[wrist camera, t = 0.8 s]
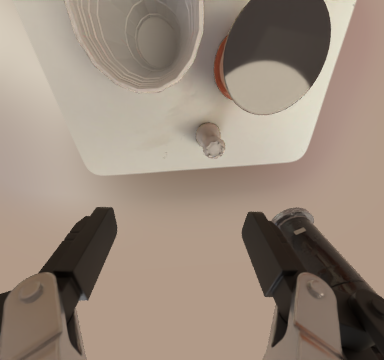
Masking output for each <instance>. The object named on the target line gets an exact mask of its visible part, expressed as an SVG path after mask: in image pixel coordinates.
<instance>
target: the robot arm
mask: <svg viewBox="0 0 384 360" xmlns="http://www.w3.org/2000/svg"><path fill="white" fill-rule="evenodd" d="M116 234H117V224H116V219H115V214H114V210H113V208H112V207H97V208H96V209H95V210H94V212H93V213H92V214H91V216H85V217H84V218H83V219H81V220H80V221H79V222H77V223H76V224H75V226H74V227H73V228H72V230H71V231H70V233H69V234H68V235H67V236H66V238H65V240H64V241H62V243H61V244H60V245H59V247H58V248H57V250H56V251H55V252H54V253H53V255H52V256H51V257H50V259H49V260H48V261H47V263H46V264H45V265H44V266H43V268H42V269H41V270H40V272H39V273H38V274H35V275H33V276H30V277H29V278H27V279H25V280H24V281H22V282H21V283H19V284H18V285H17V286H16V287H15V288H14V289H13V290H12V291H8V292H5V293H2V294H0V360H87V359H86V355H85V351H84V346H83V341H82V336H81V331H80V326H79V321H78V315H77V311H76V308H75V307H76V305H77V303H78V301H79V300H88V299H89V297H90V295H91V292H92V290H93V288H94V285H95V283H96V281H97V279H98V276H99V274H100V272H101V269H102V267H103V265H104V263H105V260H106V258H107V256H108V253H109V251H110V249H111V247H112V244H113V242H114V239H115V237H116ZM242 238H243V241H244V243H245V246H246V249H247V251H248V254H249V257H250V259H251V262H252V265H253V267H254V270H255V272H256V275H257V278H258V280H259V283H260V286H261V288H262V291H263V293H264V296H265V297H273V298H274V300H275V302H276V306H275V311H274V316H273V322H272V326H271V331H270V337H269V342H268V347H267V350H266V353H265V355H264V358H263V360H384V299H383V298H382V297H380V296H379V295H377V293H376V292H375V291H374V290H373V289H372V288H371V287H370V286H369V285H368V284H367V282H366V281H365V280H364V279H363V278H362V277H361V276H360V275H359V274H358V273H357V271H356V270H355V269H354V268H353V267H352V266H351V265H350V264H349V263H348V262H347V261H346V260H345V259H344V257H343V256H342V255H341V254H340V253H339V252H338V251H337V250H336V249H335V248H334V247H333V245H332V244H331V243H330V242H329V241H328V240H327V239H326V238H325V237H324V236H323V235H322V233H321V232H320V231H319V230H318V229H317V228H316V227H315V226H314V225H313V224H312V223H311V221H310V220H309V219H308V218H307V217H306V216H303V215H294V216H290V217H288V218H286V219H284V220H283V221H282V222H280V223H279V225H278V226H276V225H275V224H274V223H273V222H271V221H268V220H267V219H266V217H265V215H264V214H263V213H262V212H248V214H247V217H246V220H245V222H244V225H243V228H242Z"/></svg>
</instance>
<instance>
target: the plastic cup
mask: <svg viewBox="0 0 384 360" xmlns="http://www.w3.org/2000/svg"><path fill="white" fill-rule="evenodd" d="M64 2H65V5H66V8H67V11H68V14H69V17H70V20H71V23H72V26H73V29H74V32H75V35H76V38H77V40H78V41H79V43H80V44H81V46H82V47H83V49H84V50H85V52H86V53H87V55H88V57H89V58H90V60H91V61H92V63H93V64H94V66H95V67H96V68H98V69H99V70H100V71H101V72H102V73H103V74H104V75H106V76H107V77H108V78H109V79H110V80H111V81H112V82H114V83H115V84H116V85H119V86H121V87H124V88H126V89H129V90H131V91H134V92H136V93H155V92H161V91H163V90H165V89H166V88H168V87H170V86H172V85H174V84H176V83H177V82H179V81H180V79H181V78H182V77H183V75H184V74H185V73H186V71H187V70H188V69H189V68H190V66H191V65H192V64H193V62H194V60H195V57H196V54H197V51H198V47H199V44H200V41H201V37H202V34H203V17H204V0H64Z"/></svg>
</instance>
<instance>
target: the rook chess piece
mask: <svg viewBox="0 0 384 360" xmlns="http://www.w3.org/2000/svg"><path fill="white" fill-rule="evenodd" d="M220 138H221V133H220V130H219V128H218V127H217V126H216V125H215V124H213V123H204V124H203V125H201V126H200V127H199V128H198V129H197V132H196V140H197V142H198V144H199V145H200V146H201V147H203V152H204V154H205V155H206V156H207V157H209V158H214V159H216V158H218V157H219V156H222V154H223V153H224V150H225V143H224V141H223V140H222V139H220Z"/></svg>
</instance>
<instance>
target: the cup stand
mask: <svg viewBox="0 0 384 360" xmlns="http://www.w3.org/2000/svg"><path fill="white" fill-rule="evenodd" d="M330 38H331V24H330V17H329V12H328V9H327V7H326V4H325V2H324V0H250V1H249V2H248V3H247V5H246V6H245V7H244V8H243V9H242V11H241V12H240V13H239V15H238V16H237V18H236V19H235V21H234V23H233V25H232V27H231V29H230V31H229V34H228V35H227V36H226V37H225V39H224V40H223V41H222V43H221V44H220V46H219V48H218V50H217V53H216V56H215V60H214V78H215V82H216V85H217V87H218V89H219V90H220V92H221V93H222V94H223V95H224V96H225V97H227V98H228V99H230V100H233V101H234V103H235V104H237V105H238V106H239V107H240V108H241V109H243V110H245V111H247V112H249V113H252V114H257V115H269V114H274V113H277V112H280V111H282V110H284V109H286V108H288V107H290V106H291V105H293V104H294V103H296V102H297V101H298V100H299V99H300V98H301V97H302V96H303V95H304V94H305V93H306V92H307V91H308V90H309V89H310V88H311V86H312V85H313V83H314V82H315V81H316V79H317V77H318V75H319V74H320V72H321V70H322V67H323V65H324V63H325V60H326V57H327V54H328V50H329V45H330Z"/></svg>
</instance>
